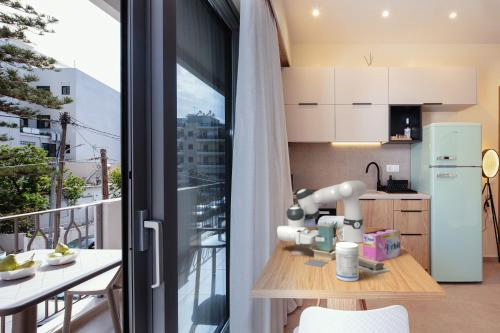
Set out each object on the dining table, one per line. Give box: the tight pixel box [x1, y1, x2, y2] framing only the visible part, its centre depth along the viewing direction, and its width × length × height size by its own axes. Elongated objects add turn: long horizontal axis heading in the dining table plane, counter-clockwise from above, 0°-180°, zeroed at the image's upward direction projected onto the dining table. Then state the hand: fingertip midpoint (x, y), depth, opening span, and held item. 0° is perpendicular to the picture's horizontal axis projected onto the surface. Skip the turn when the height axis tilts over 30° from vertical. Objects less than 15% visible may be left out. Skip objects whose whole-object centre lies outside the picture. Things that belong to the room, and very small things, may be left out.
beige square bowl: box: [309, 244, 336, 261], centre depth 170 cm, size 15×15×5 cm
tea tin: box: [317, 222, 334, 253], centre depth 170 cm, size 6×5×17 cm
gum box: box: [362, 227, 402, 262], centre depth 171 cm, size 24×8×14 cm, turn 124°
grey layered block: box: [359, 254, 390, 275], centre depth 153 cm, size 18×5×10 cm
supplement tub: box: [335, 241, 360, 282], centre depth 139 cm, size 10×10×15 cm
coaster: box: [303, 258, 329, 268], centre depth 159 cm, size 9×9×1 cm
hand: (327, 238), depth 169 cm, fingers closed on tea tin, 5 cm apart
